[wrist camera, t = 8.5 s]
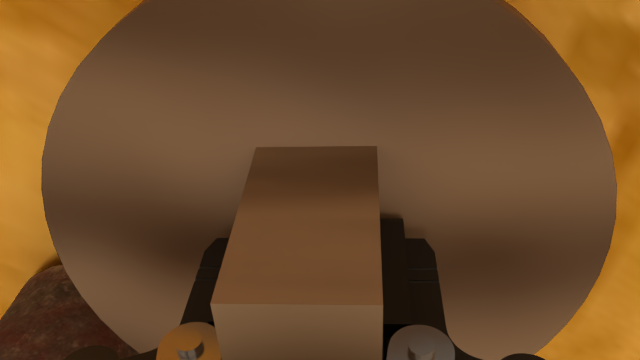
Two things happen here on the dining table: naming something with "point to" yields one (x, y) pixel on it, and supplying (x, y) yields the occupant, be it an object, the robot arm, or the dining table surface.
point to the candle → (53, 321)
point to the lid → (328, 172)
